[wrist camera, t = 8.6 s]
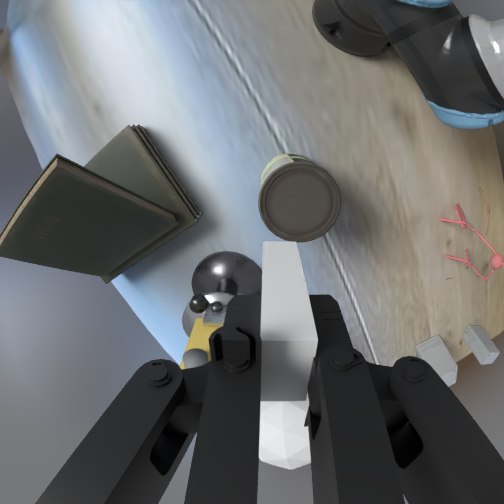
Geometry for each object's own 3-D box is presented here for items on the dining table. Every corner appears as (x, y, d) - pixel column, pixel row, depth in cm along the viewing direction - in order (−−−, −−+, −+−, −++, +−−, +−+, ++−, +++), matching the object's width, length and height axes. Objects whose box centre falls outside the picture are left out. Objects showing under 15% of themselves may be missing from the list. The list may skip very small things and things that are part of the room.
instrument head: (236, 311, 41) (225, 380, 29) (238, 356, 44) (229, 421, 33) (195, 309, 41) (172, 374, 29) (201, 353, 45) (184, 417, 33)
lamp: (212, 400, 64) (241, 477, 43) (324, 319, 67) (386, 377, 46) (258, 430, 74) (289, 491, 53) (350, 363, 77) (399, 414, 56)
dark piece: (118, 269, 57) (56, 346, 34) (66, 195, 50) (-19, 243, 27) (203, 213, 51) (157, 286, 28) (143, 124, 44) (52, 132, 22)
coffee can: (317, 149, 45) (337, 158, 32) (323, 207, 49) (343, 237, 36) (255, 156, 46) (252, 167, 33) (264, 214, 50) (264, 247, 37)
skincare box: (461, 336, 61) (480, 365, 50) (468, 324, 60) (489, 352, 49) (473, 337, 62) (492, 364, 51) (480, 325, 60) (500, 351, 49)
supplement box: (414, 345, 62) (432, 380, 51) (438, 333, 61) (459, 366, 49) (415, 362, 65) (432, 395, 53) (438, 351, 63) (456, 382, 52)
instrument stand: (265, 252, 53) (265, 308, 37) (263, 314, 59) (262, 377, 43) (190, 250, 54) (161, 303, 38) (196, 311, 59) (177, 372, 44)
